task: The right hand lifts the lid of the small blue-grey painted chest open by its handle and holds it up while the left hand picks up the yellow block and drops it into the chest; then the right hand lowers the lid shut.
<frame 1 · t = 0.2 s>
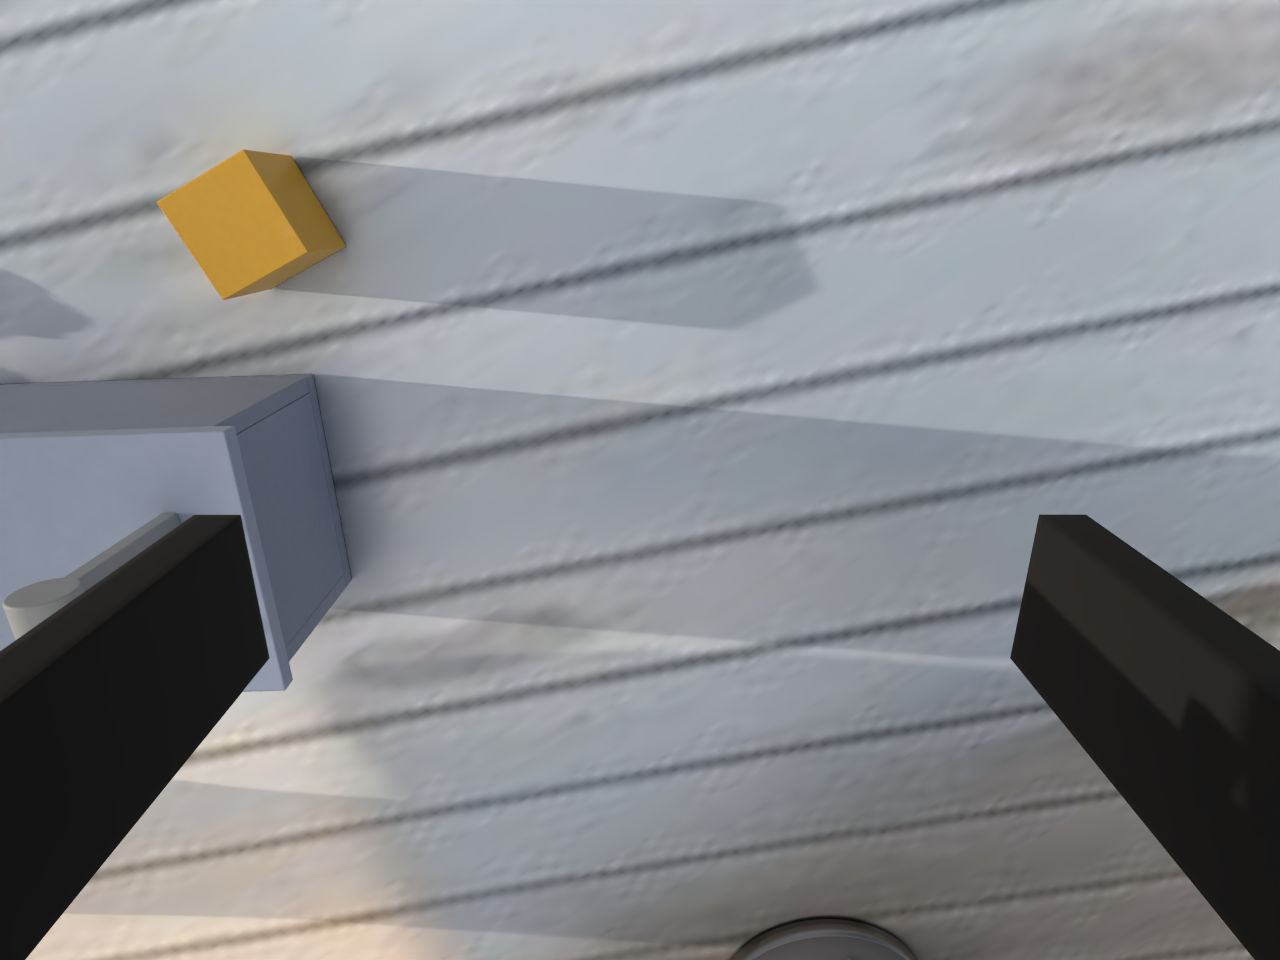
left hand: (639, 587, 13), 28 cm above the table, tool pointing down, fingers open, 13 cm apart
chest: (181, 486, 42), on the table
block: (280, 224, 37), on the table
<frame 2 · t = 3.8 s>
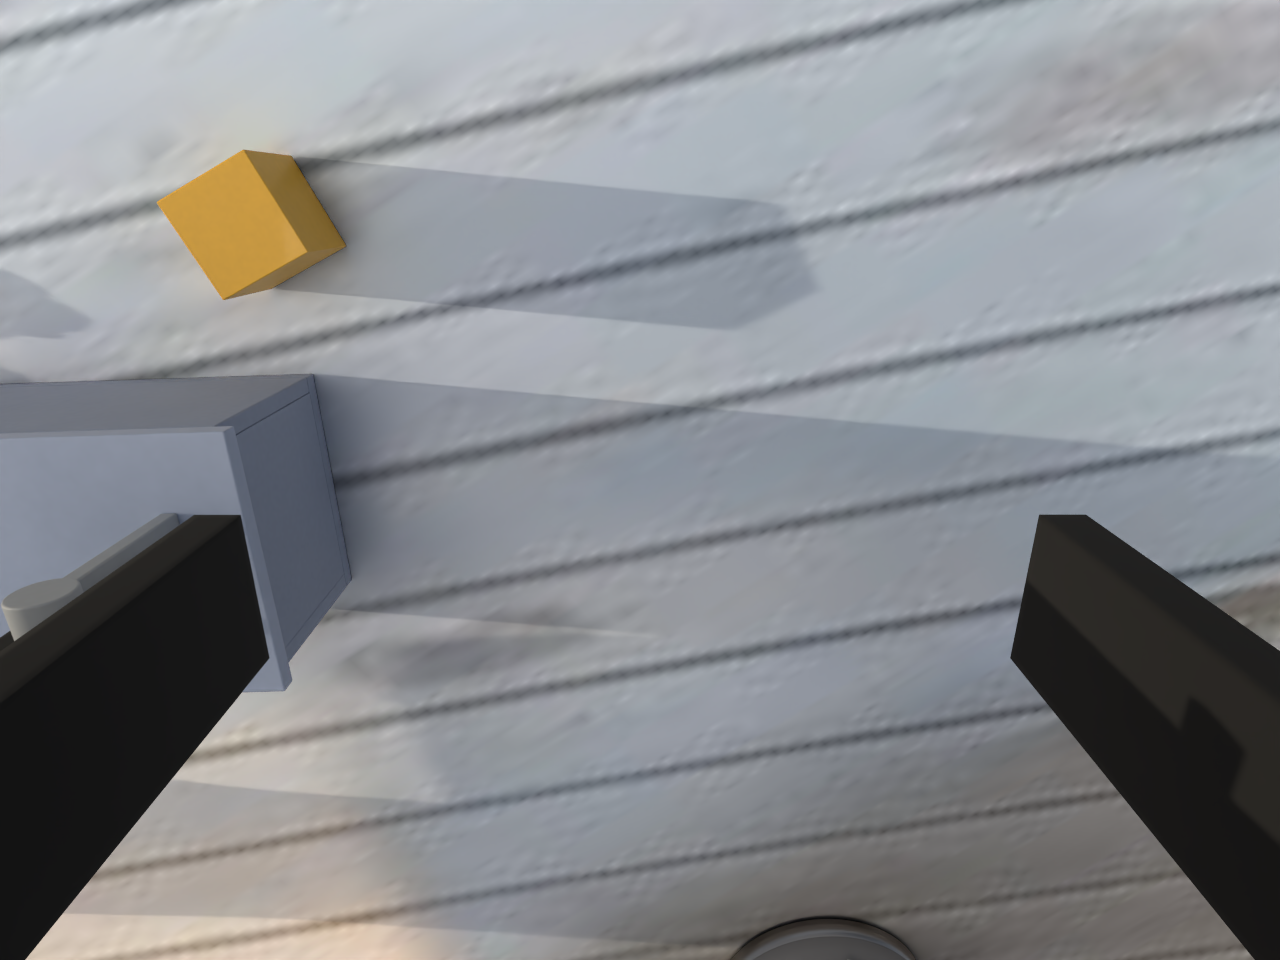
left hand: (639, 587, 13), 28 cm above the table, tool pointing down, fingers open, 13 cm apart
chest: (181, 486, 42), on the table
block: (280, 224, 37), on the table
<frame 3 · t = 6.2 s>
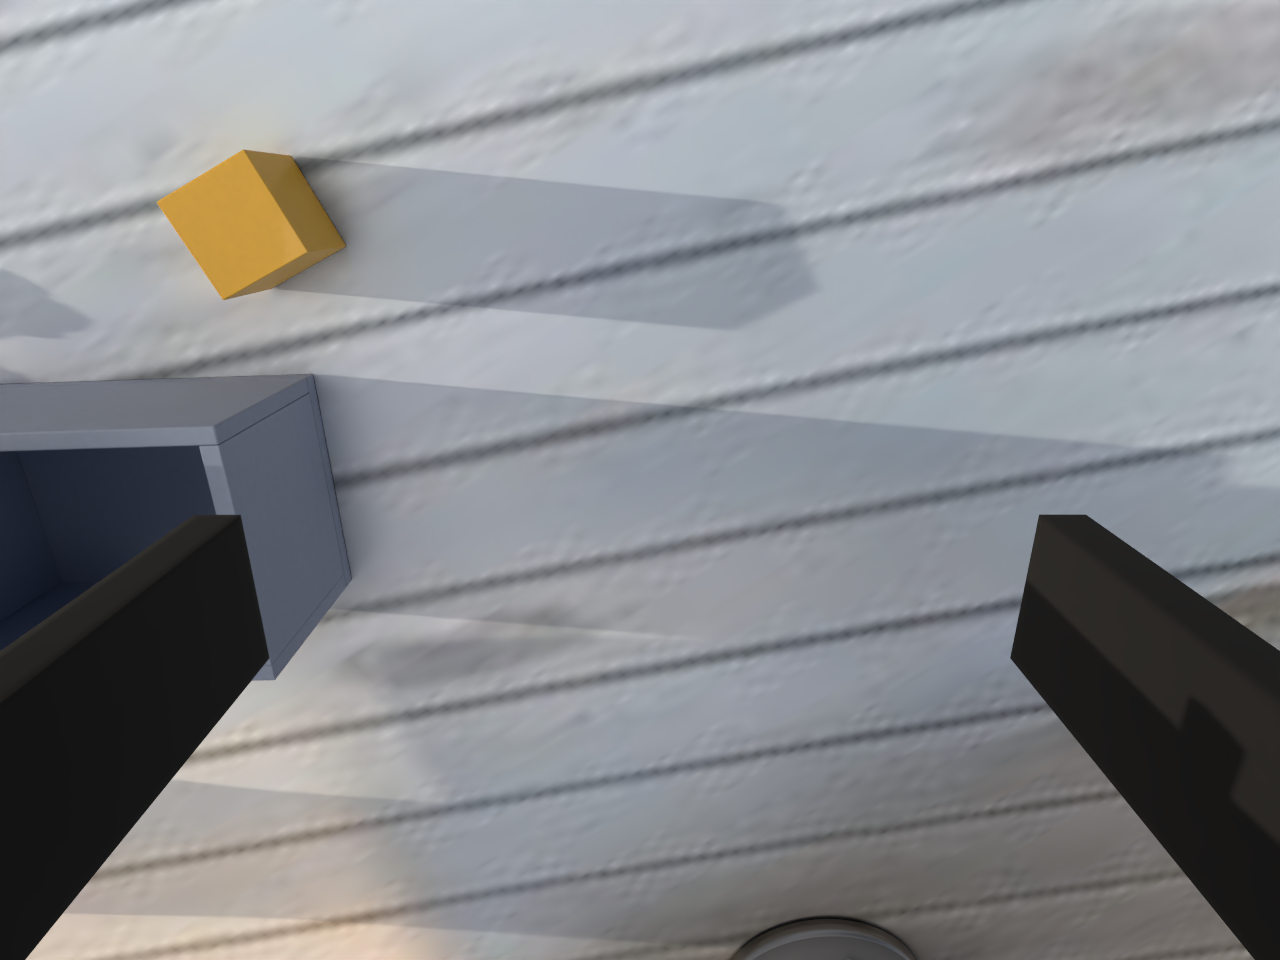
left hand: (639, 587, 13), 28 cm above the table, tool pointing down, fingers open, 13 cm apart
chest: (181, 486, 42), on the table
block: (280, 224, 37), on the table
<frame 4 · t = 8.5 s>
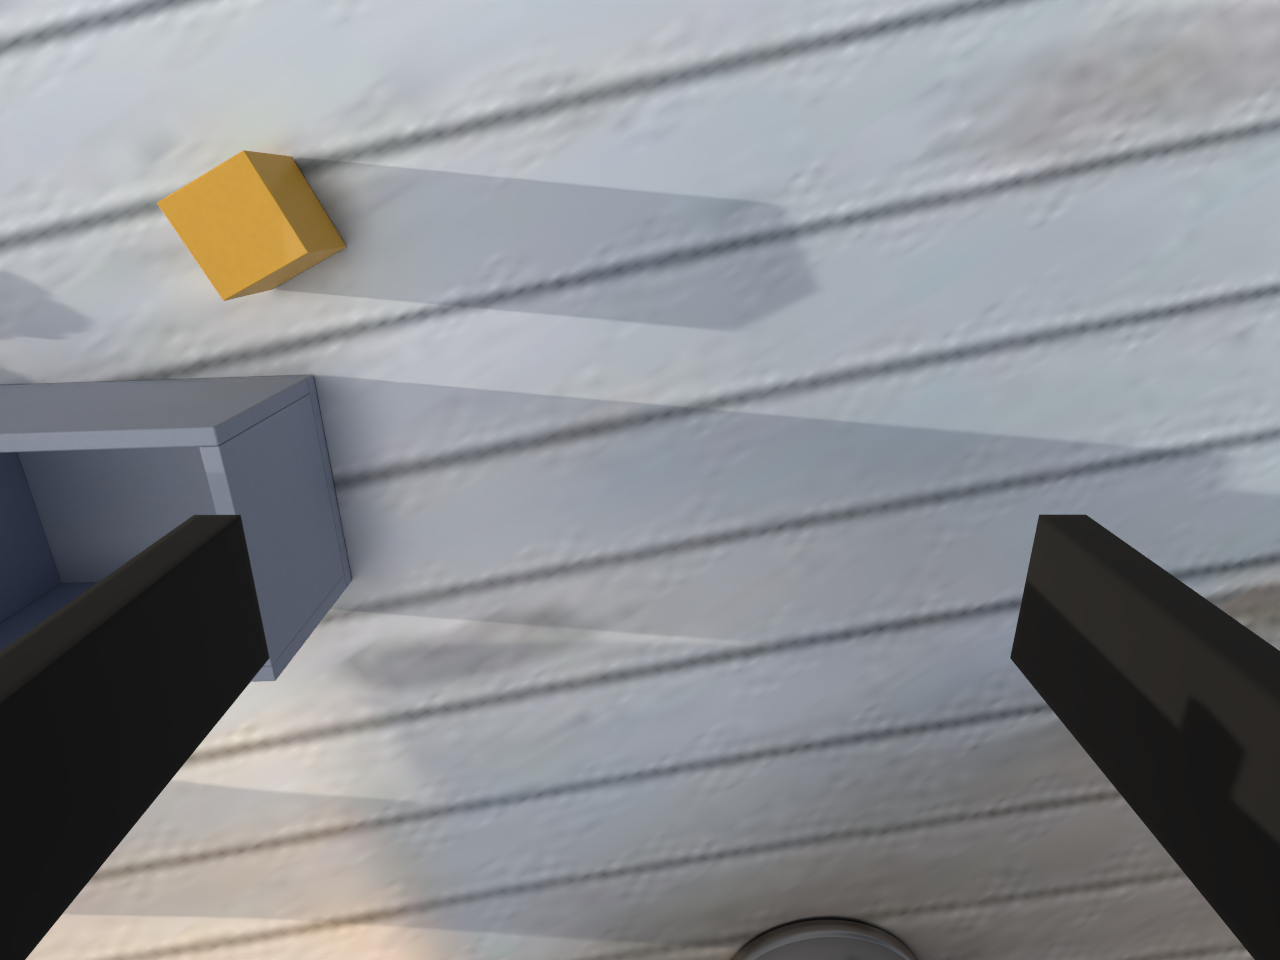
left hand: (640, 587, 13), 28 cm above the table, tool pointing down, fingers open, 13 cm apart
chest: (181, 487, 42), on the table
block: (281, 225, 37), on the table
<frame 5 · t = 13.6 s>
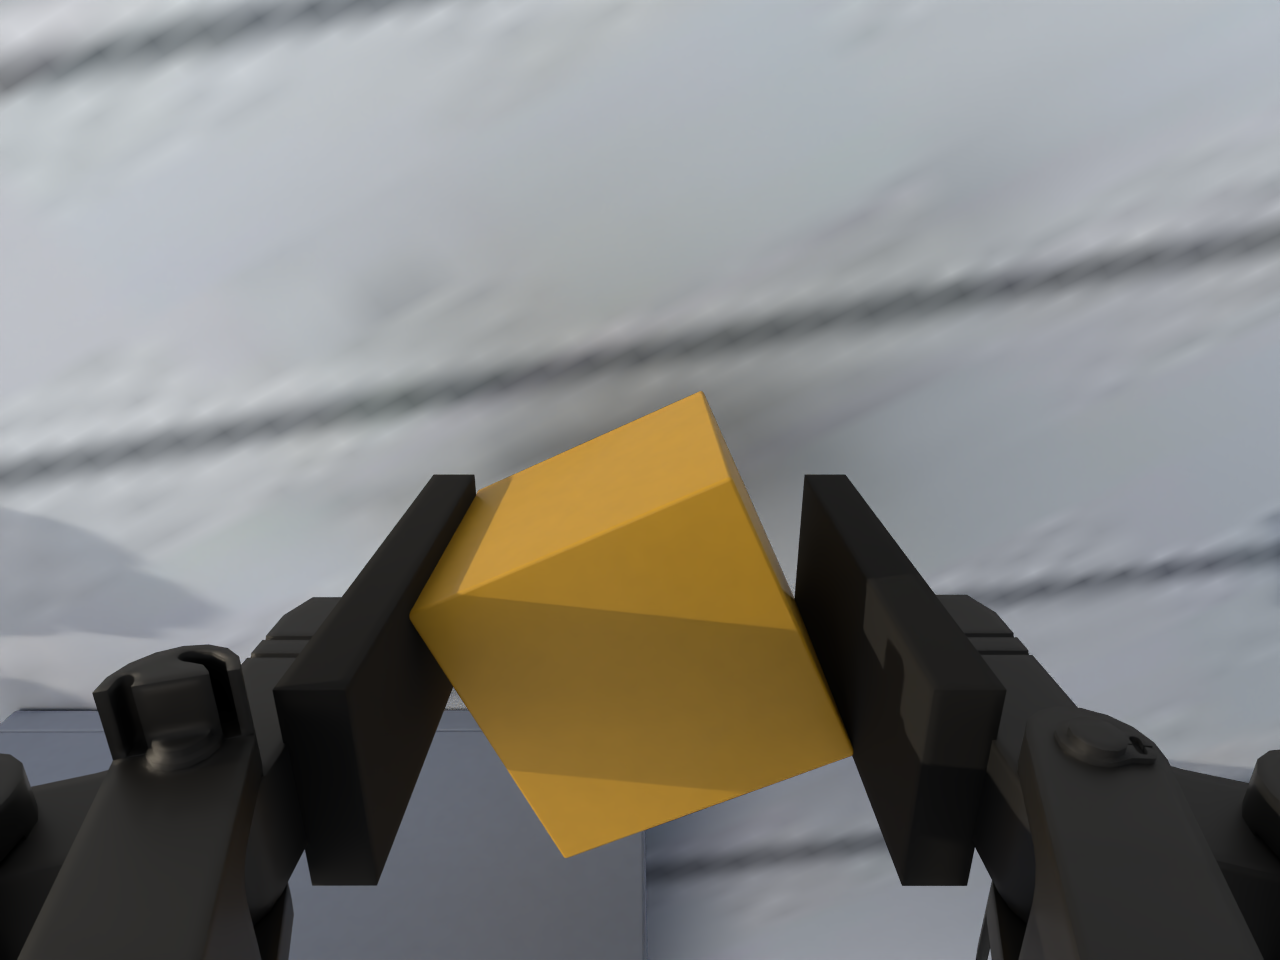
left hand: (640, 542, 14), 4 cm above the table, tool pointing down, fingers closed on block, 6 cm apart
chest: (360, 874, 23), on the table
block: (639, 544, 15), point 4 cm above the table, touching left hand
when the left hand's fingers open (16 cm above the table, at t = 16.3 s): block drops 15 cm, resting on chest.
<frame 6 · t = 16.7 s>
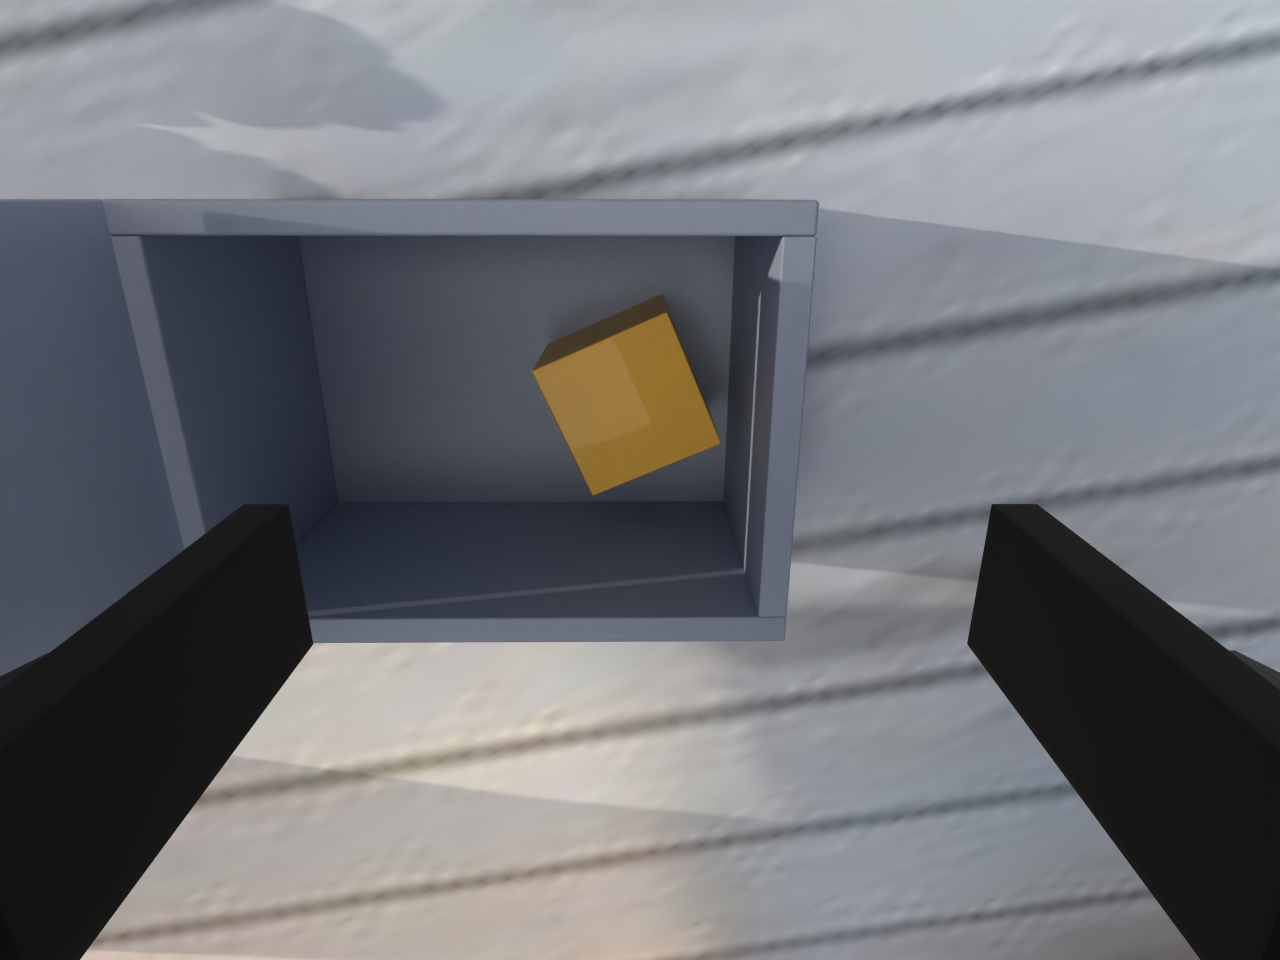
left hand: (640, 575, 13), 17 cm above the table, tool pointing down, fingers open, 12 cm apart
chest: (527, 367, 29), on the table, touching block
block: (628, 376, 28), point 1 cm above the table, touching chest
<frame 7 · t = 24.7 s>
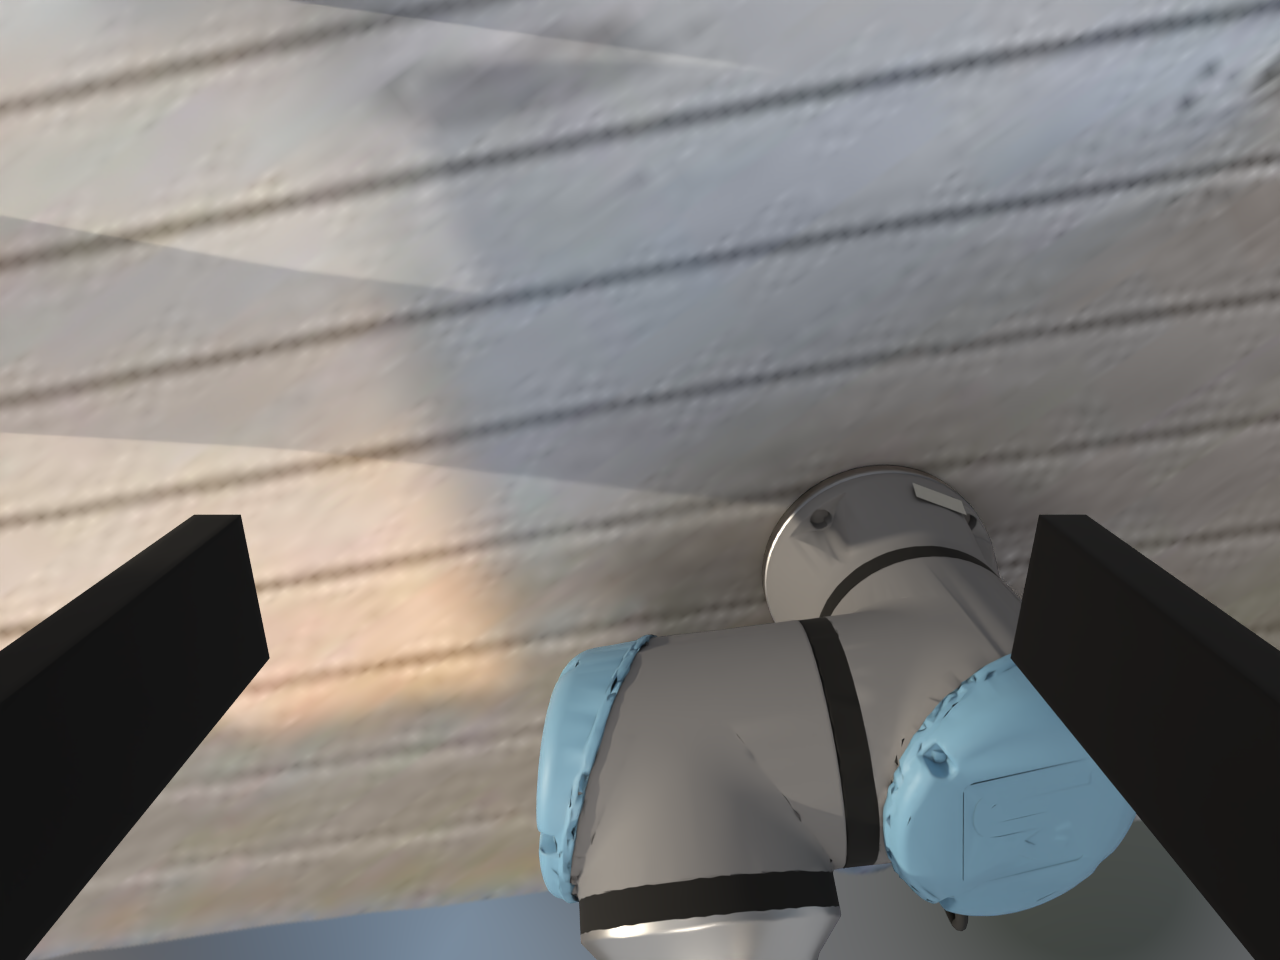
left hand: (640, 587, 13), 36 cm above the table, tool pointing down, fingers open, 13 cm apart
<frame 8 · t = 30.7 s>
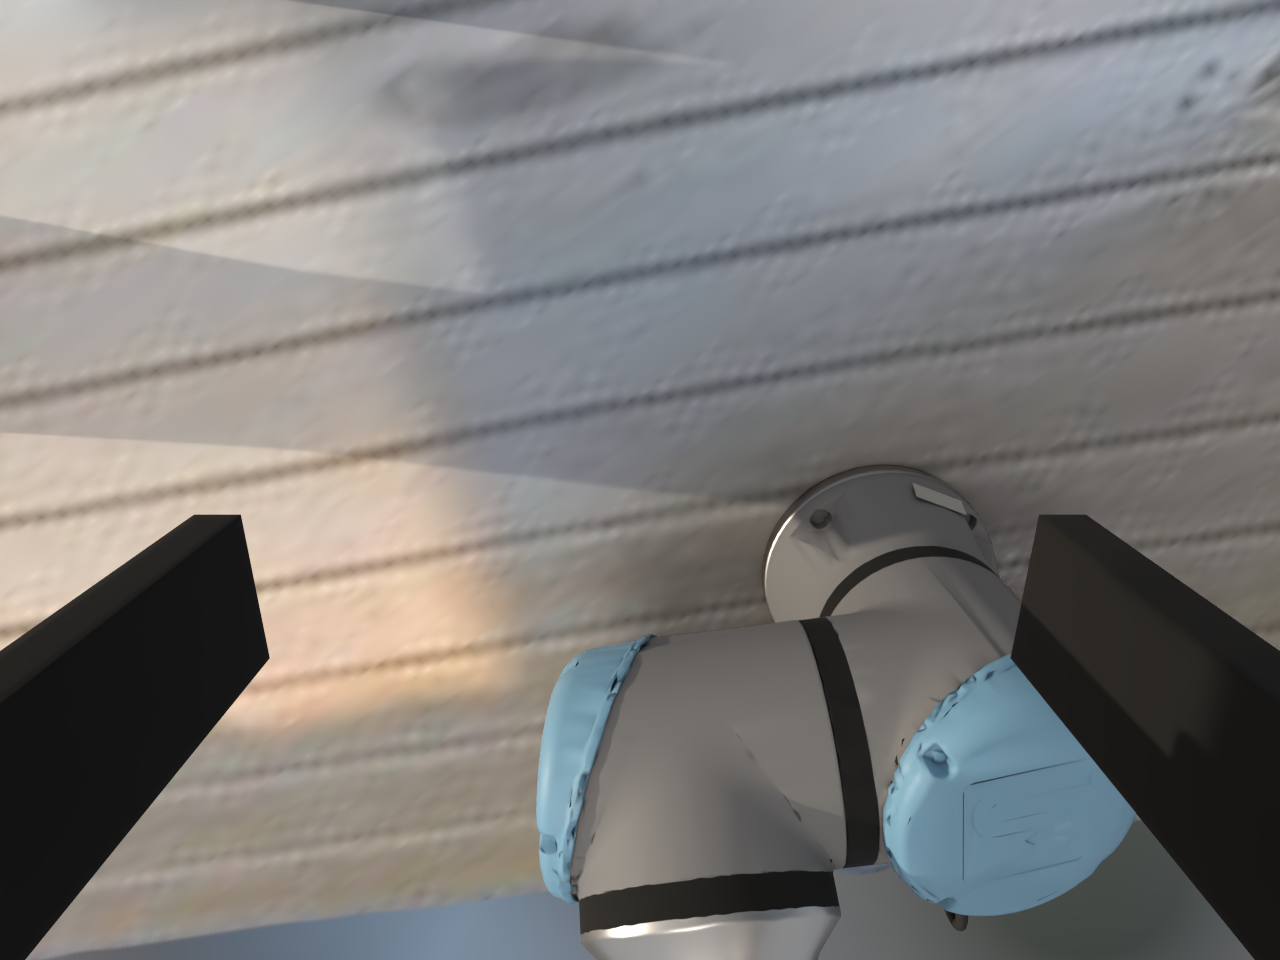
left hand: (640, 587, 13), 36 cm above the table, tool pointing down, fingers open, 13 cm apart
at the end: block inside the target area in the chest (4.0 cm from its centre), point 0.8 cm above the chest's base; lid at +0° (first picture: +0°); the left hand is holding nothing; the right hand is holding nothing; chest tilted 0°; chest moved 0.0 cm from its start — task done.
